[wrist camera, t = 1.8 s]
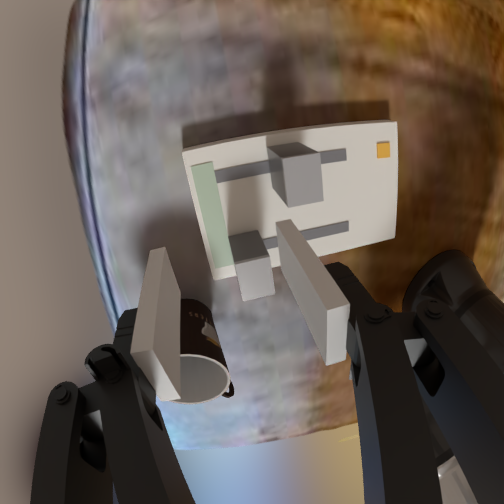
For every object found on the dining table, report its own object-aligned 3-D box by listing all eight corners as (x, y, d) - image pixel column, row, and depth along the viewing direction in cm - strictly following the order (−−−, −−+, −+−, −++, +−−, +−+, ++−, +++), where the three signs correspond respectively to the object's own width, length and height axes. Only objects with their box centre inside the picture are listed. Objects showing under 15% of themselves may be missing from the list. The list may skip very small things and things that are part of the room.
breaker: (257, 229, 30) (270, 256, 26) (263, 263, 33) (275, 293, 28) (227, 236, 30) (234, 264, 26) (235, 269, 32) (242, 301, 28)
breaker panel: (386, 119, 29) (397, 122, 27) (386, 230, 36) (395, 238, 34) (182, 148, 28) (181, 152, 26) (212, 270, 35) (213, 281, 33)
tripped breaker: (298, 141, 27) (320, 152, 22) (302, 182, 29) (323, 200, 24) (266, 146, 27) (282, 158, 22) (272, 187, 29) (288, 208, 24)
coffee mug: (142, 299, 35) (132, 362, 26) (211, 284, 36) (218, 346, 27) (173, 361, 41) (174, 420, 32) (232, 349, 41) (243, 408, 33)
